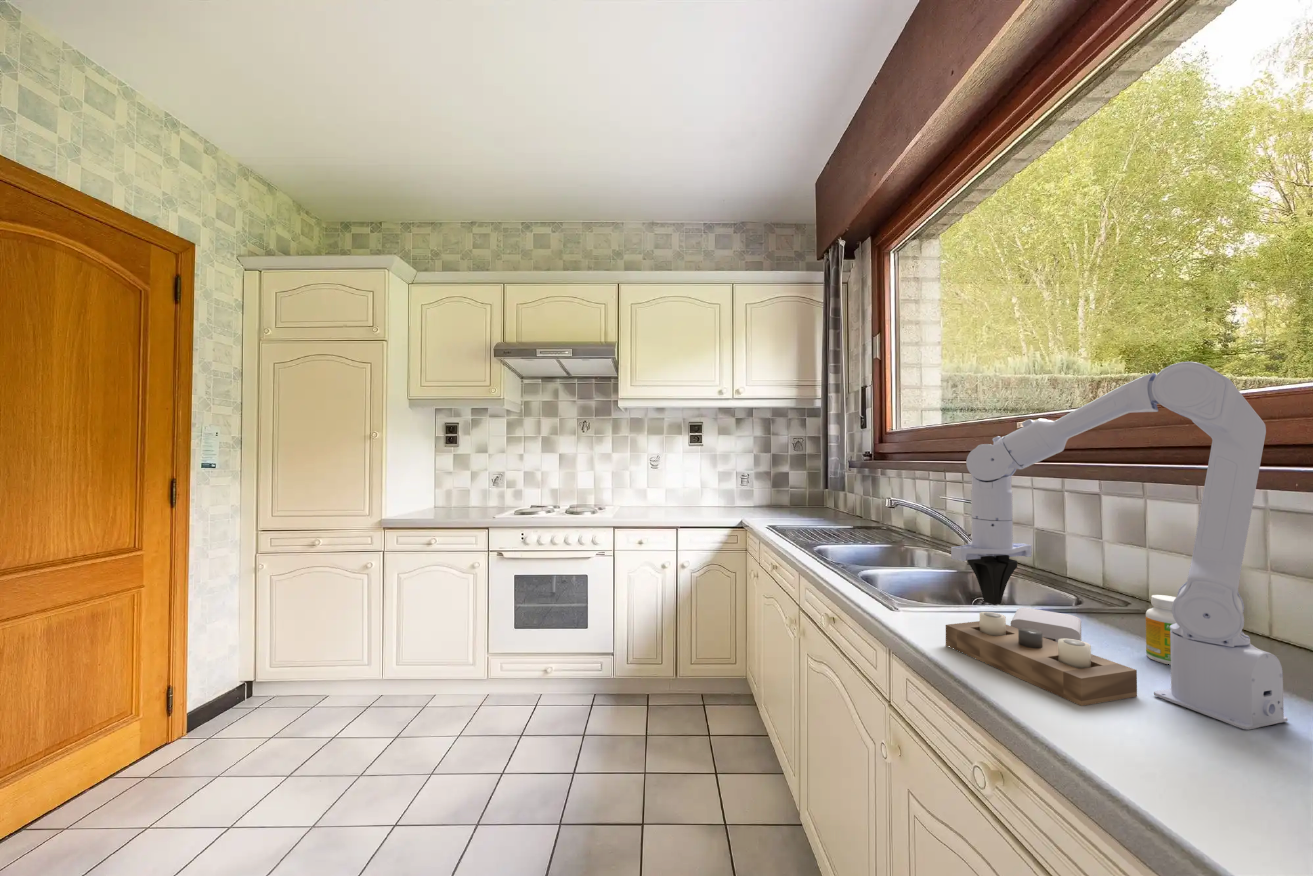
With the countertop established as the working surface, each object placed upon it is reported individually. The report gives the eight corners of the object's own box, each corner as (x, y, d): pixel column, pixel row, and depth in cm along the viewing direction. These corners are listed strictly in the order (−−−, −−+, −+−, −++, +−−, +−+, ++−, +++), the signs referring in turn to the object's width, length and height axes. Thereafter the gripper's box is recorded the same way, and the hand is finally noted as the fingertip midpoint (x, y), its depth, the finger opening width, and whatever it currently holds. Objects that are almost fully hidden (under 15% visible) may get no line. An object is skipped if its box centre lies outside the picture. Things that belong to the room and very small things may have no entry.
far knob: (1011, 637, 86) (1011, 617, 86) (993, 639, 85) (993, 618, 85) (991, 629, 90) (991, 610, 90) (974, 631, 89) (974, 612, 89)
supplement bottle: (1164, 666, 82) (1163, 602, 82) (1137, 653, 88) (1136, 593, 88) (1203, 668, 82) (1202, 603, 82) (1173, 654, 87) (1172, 594, 87)
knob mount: (1137, 696, 72) (1136, 669, 72) (1081, 705, 69) (1081, 678, 69) (992, 640, 93) (992, 619, 93) (945, 645, 90) (945, 624, 91)
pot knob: (1047, 647, 80) (1047, 633, 80) (1032, 649, 80) (1031, 635, 80) (1028, 640, 83) (1028, 627, 83) (1013, 642, 82) (1013, 629, 82)
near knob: (1097, 669, 74) (1097, 645, 74) (1078, 672, 73) (1077, 648, 73) (1070, 659, 77) (1070, 636, 77) (1051, 661, 76) (1051, 639, 76)
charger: (1082, 634, 97) (1080, 659, 85) (1020, 624, 103) (1010, 646, 91) (1082, 608, 97) (1079, 629, 85) (1020, 599, 103) (1010, 617, 91)
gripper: (1004, 514, 94) (1004, 593, 94) (936, 517, 90) (936, 599, 90) (1043, 519, 87) (1044, 604, 87) (971, 522, 83) (972, 611, 83)
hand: (992, 602), depth 88 cm, fingers closed
